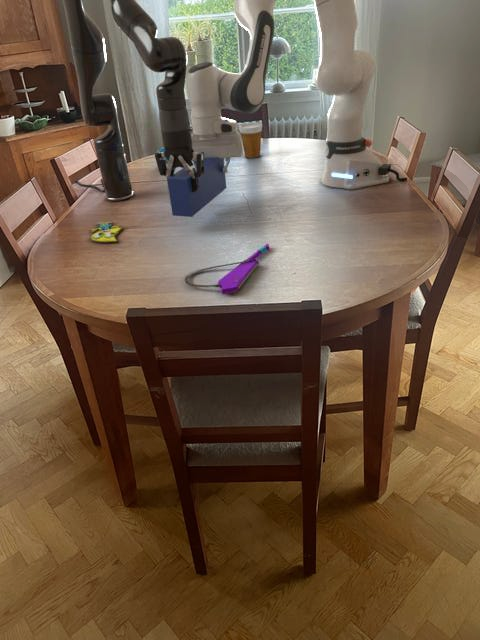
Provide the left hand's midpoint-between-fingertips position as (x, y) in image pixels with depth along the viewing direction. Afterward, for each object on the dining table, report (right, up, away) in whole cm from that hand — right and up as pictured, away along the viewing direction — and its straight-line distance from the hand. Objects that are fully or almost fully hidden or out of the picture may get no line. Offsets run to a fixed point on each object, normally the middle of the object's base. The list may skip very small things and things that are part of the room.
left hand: (184, 190), depth 133 cm
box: (+4, 0, +11) cm, 11 cm away
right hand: (+7, +10, +15) cm, 19 cm away
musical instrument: (+13, -24, -18) cm, 33 cm away
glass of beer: (+21, +33, +70) cm, 80 cm away
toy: (-24, -10, +9) cm, 28 cm away
